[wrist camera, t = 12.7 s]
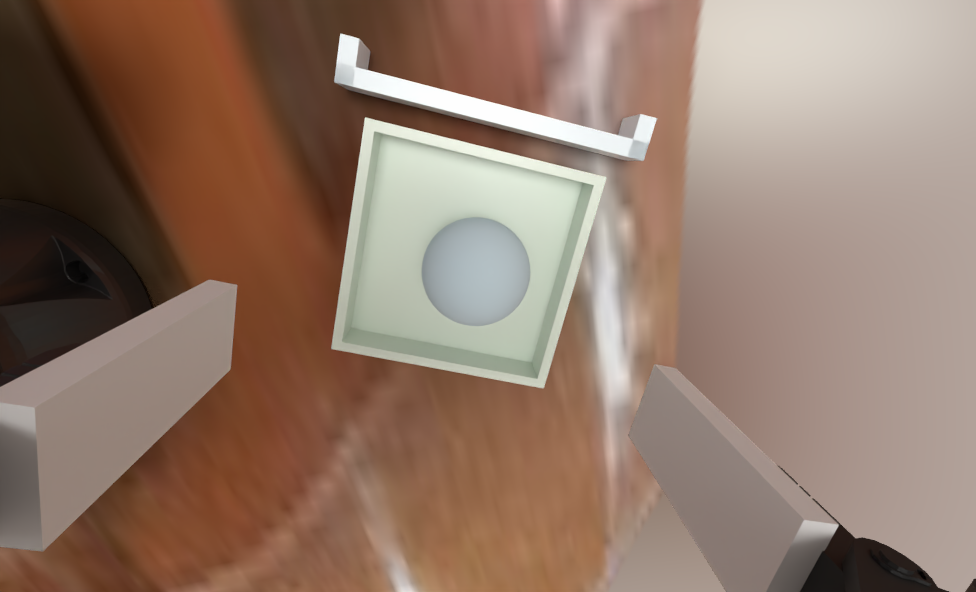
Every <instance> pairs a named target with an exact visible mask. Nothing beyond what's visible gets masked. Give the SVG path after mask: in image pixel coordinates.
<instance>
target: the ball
mask: <svg viewBox="0 0 976 592" xmlns="http://www.w3.org/2000/svg"><path fill="white" fill-rule="evenodd" d="M422 281H423V285H424V289H425V292H426V294H427V296H428V298H429V300H430V301H431V303H432V304H433V306H434V307H435V308H436V309H437V310H438V311H439V312H440V313H441V314H442V315H444V316H445V317H447V318H448V319H450V320H452V321H454V322H457V323H460V324H463V325H468V326H484V325H489V324H492V323H495V322H498V321H500V320H502V319H504V318H505V317H507V316H508V315H510V314H511V313H512V312H513V311H514V310H515V309H516V308H517V307H518V306H519V304H520V303H521V301H522V300H523V298H524V296H525V294H526V292H527V289H528V286H529V281H530V263H529V257H528V254H527V251H526V249H525V247H524V245H523V244H522V242H521V241H520V239H519V238H518V237H517V235H516V234H515V233H514V232H513V231H511V230H510V229H509V228H508V227H506V226H505V225H503V224H501V223H499V222H497V221H494V220H491V219H488V218H481V217H471V218H464V219H461V220H457V221H455V222H453V223H451V224H449V225H447V226H445V227H444V228H443V229H442V230H440V231H439V232H438V233H437V234H436V235H435V236H434V238H433V239H432V240H431V242H430V243H429V245H428V247H427V249H426V251H425V254H424V258H423V262H422Z"/></svg>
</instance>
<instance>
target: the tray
mask: <svg viewBox="0 0 976 592" xmlns="http://www.w3.org/2000/svg"><path fill="white" fill-rule="evenodd" d="M605 181H606V177H603V176H599V175H595V174H591V173H587V172H583V171H579V170H575V169H571V168H567V167H563V166H559V165H555V164H551V163H547V162H543V161H539V160H535V159H531V158H527V157H523V156H519V155H515V154H511V153H506V152H502V151H498V150H494V149H490V148H486V147H482V146H478V145H474V144H470V143H466V142H462V141H458V140H454V139H450V138H446V137H442V136H438V135H434V134H430V133H426V132H422V131H418V130H414V129H410V128H406V127H402V126H398V125H394V124H390V123H386V122H382V121H377V120H373V119H369V118H365V122H364V128H363V135H362V142H361V149H360V156H359V162H358V169H357V176H356V183H355V190H354V197H353V203H352V210H351V217H350V224H349V231H348V237H347V244H346V251H345V258H344V265H343V271H342V278H341V285H340V292H339V299H338V306H337V312H336V319H335V326H334V333H333V340H332V346H331V349H334V350H340V351H345V352H351V353H356V354H361V355H367V356H372V357H377V358H383V359H388V360H393V361H399V362H404V363H410V364H415V365H420V366H426V367H431V368H436V369H442V370H447V371H453V372H458V373H463V374H469V375H474V376H479V377H485V378H490V379H495V380H501V381H506V382H512V383H517V384H522V385H528V386H533V387H538V388H544V386H545V382H546V379H547V376H548V372H549V369H550V365H551V362H552V359H553V355H554V352H555V349H556V345H557V342H558V339H559V335H560V332H561V329H562V325H563V322H564V318H565V315H566V312H567V308H568V305H569V302H570V298H571V295H572V292H573V288H574V285H575V281H576V278H577V275H578V271H579V268H580V265H581V261H582V258H583V255H584V251H585V248H586V245H587V241H588V238H589V234H590V231H591V228H592V224H593V221H594V218H595V214H596V211H597V208H598V204H599V201H600V197H601V194H602V191H603V187H604V184H605ZM471 217H481V218H488V219H491V220H494V221H497V222H499V223H501V224H503V225H505V226H506V227H508V228H509V229H510V230H511V231H513V232H514V233H515V234H516V235H517V237H518V238H519V239H520V241H521V242H522V244H523V245H524V247H525V249H526V251H527V254H528V257H529V263H530V281H529V286H528V289H527V292H526V294H525V296H524V298H523V300H522V301H521V303H520V304H519V306H518V307H517V308H516V309H515V310H514V311H513V312H512V313H511V314H510V315H508V316H507V317H505V318H504V319H502V320H500V321H498V322H495V323H492V324H489V325H484V326H468V325H463V324H460V323H457V322H454V321H452V320H450V319H448V318H447V317H445V316H444V315H442V314H441V313H440V312H439V311H438V310H437V309H436V308H435V307H434V306H433V304H432V303H431V301H430V300H429V298H428V296H427V294H426V292H425V289H424V285H423V281H422V262H423V258H424V254H425V251H426V249H427V247H428V245H429V243H430V242H431V240H432V239H433V238H434V236H435V235H436V234H437V233H438V232H439V231H440V230H442V229H443V228H444V227H445V226H447V225H449V224H451V223H453V222H455V221H457V220H461V219H464V218H471Z"/></svg>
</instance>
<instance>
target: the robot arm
mask: <svg viewBox="0 0 976 592" xmlns="http://www.w3.org/2000/svg"><path fill="white" fill-rule="evenodd" d="M236 295H237V285H235V284H230V283H225V282H220V281H214V280H207V281H206V282H204V283H202V284H200V285H198V286H196V287H194V288H192V289H190V290H188V291H186V292H184V293H182V294H180V295H178V296H176V297H174V298H172V299H171V300H169V301H167V302H165V303H163V304H161V305H159V306H157V307H155V308H153V309H152V308H151V304H150V301H149V299H148V296H147V294H146V291H145V289H144V287H143V285H142V283H141V281H140V280H139V278H138V276H137V275H136V273H135V272H134V270H133V269H132V267H131V266H130V265H129V263H128V262H127V261H126V260H125V258H124V257H123V256H122V255H121V254H120V253H119V252H118V251H117V250H116V249H115V248H114V247H113V246H112V245H111V244H110V243H109V242H108V241H107V240H106V239H104V238H103V237H102V236H101V235H99V234H98V233H97V232H95V231H94V230H93V229H91V228H90V227H88V226H87V225H85V224H83V223H82V222H80V221H78V220H76V219H75V218H73V217H71V216H69V215H67V214H64V213H62V212H60V211H57V210H55V209H52V208H49V207H46V206H43V205H40V204H36V203H32V202H27V201H21V200H12V199H0V547H6V548H16V549H25V550H35V551H44V550H45V549H46V548H47V547H48V546H49V545H50V544H51V543H52V542H53V541H54V540H55V539H56V538H57V537H58V536H59V535H60V534H61V533H62V532H64V531H65V530H66V529H67V528H68V527H69V526H70V525H71V524H72V523H73V522H74V521H75V520H76V519H77V518H78V517H79V516H80V515H81V514H82V513H83V512H84V511H85V510H86V509H87V508H88V507H89V506H90V505H91V504H92V503H93V502H94V501H96V500H97V499H98V498H99V497H100V496H101V495H102V494H103V493H104V492H105V491H106V490H107V489H108V488H109V487H110V486H111V485H112V484H113V483H114V482H115V481H116V480H117V479H118V478H119V477H120V476H121V475H122V474H123V473H124V472H125V471H126V470H127V469H129V468H130V467H131V466H132V465H133V464H134V463H135V462H136V461H137V460H138V459H139V458H140V457H141V456H142V455H143V454H144V453H145V452H146V451H147V450H148V449H149V448H150V447H151V446H152V445H153V444H154V443H155V442H156V441H157V440H158V439H159V438H161V437H162V436H163V435H164V434H165V433H166V432H167V431H168V430H169V429H170V428H171V427H172V426H173V425H174V424H175V423H176V422H177V421H178V420H179V419H180V418H181V417H182V416H183V415H184V414H185V413H186V412H187V411H188V410H189V409H190V408H191V407H192V406H194V405H195V404H196V403H197V402H198V401H199V400H200V399H201V398H202V397H203V396H204V395H205V394H206V393H207V392H208V391H209V390H210V389H211V388H212V387H213V386H214V385H215V384H216V383H217V382H218V381H219V380H220V379H221V378H222V377H223V376H224V375H226V374H227V373H228V372H229V371H230V370H231V359H232V346H233V333H234V321H235V308H236ZM628 436H629V437H630V439H631V440H632V442H633V444H634V445H635V447H636V448H637V450H638V452H639V453H640V455H641V456H642V458H643V460H644V461H645V463H646V464H647V466H648V468H649V469H650V471H651V472H652V474H653V476H654V477H655V479H656V480H657V482H658V484H659V485H660V487H661V488H662V490H663V492H664V493H665V495H666V496H667V498H668V499H669V501H670V503H671V504H672V506H673V508H674V509H675V511H676V512H677V514H678V515H679V517H680V519H681V520H682V522H683V523H684V525H685V527H686V528H687V530H688V531H689V533H690V535H691V536H692V538H693V539H694V541H695V543H696V544H697V546H698V547H699V549H700V551H701V552H702V554H703V555H704V557H705V559H706V560H707V562H708V563H709V565H710V567H711V568H712V570H713V571H714V573H715V575H716V576H717V578H718V579H719V581H720V583H721V584H722V586H723V587H724V589H725V591H726V592H949V591H946V590H943V589H940V588H938V587H937V586H936V584H935V583H934V581H933V580H932V578H931V577H930V576H929V575H928V574H927V573H926V572H925V571H924V570H922V569H921V568H920V567H919V566H918V565H917V564H915V563H914V562H913V561H911V560H910V559H908V558H907V557H906V556H904V555H903V554H901V553H899V552H897V551H896V550H894V549H892V548H890V547H889V546H887V545H884V544H882V543H879V542H877V541H875V540H871V539H866V538H857V539H856V538H854V537H853V536H852V535H851V534H850V533H849V532H848V531H847V530H846V529H845V528H844V527H843V526H842V525H841V524H840V523H839V522H838V521H837V520H836V519H835V518H834V517H832V516H831V515H830V514H829V513H828V512H827V511H826V510H825V509H824V508H823V507H822V506H821V505H820V504H819V503H818V502H817V501H815V499H812V498H811V497H810V495H809V494H808V493H807V492H806V491H805V490H804V489H803V488H802V487H801V486H798V485H797V484H798V483H797V482H796V481H795V480H794V479H793V478H792V477H790V476H789V475H788V474H787V473H786V472H785V471H784V470H783V469H782V468H780V467H779V466H777V465H776V464H775V463H774V462H773V461H772V460H771V459H770V458H769V457H768V456H767V455H766V454H764V452H762V451H761V450H760V449H759V448H758V447H757V446H756V445H755V444H754V443H753V442H752V441H751V440H750V439H749V438H748V437H747V436H746V435H745V434H744V433H742V432H741V431H740V429H738V428H737V427H736V426H735V425H734V424H733V423H732V422H731V421H730V420H729V419H728V418H727V417H726V416H725V415H724V414H723V413H722V412H721V411H720V410H719V409H718V408H717V407H715V406H714V405H713V404H712V403H711V402H710V401H709V400H708V399H707V398H706V397H705V396H704V395H703V394H702V393H701V392H700V391H699V390H698V389H697V388H696V387H695V386H694V385H693V384H692V383H690V382H689V381H688V380H687V379H686V378H685V377H684V376H683V375H682V374H681V373H680V372H679V371H678V370H677V369H676V368H671V367H666V366H661V365H656V364H654V367H653V370H652V372H651V375H650V378H649V381H648V383H647V386H646V389H645V391H644V394H643V397H642V399H641V402H640V405H639V408H638V410H637V413H636V416H635V418H634V421H633V424H632V426H631V429H630V432H629V435H628ZM966 592H976V579H974V580H973V581H972V583H971V584H970V586H969V587H968V589H967V590H966Z"/></svg>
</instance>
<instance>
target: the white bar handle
mask: <svg viewBox="0 0 976 592" xmlns="http://www.w3.org/2000/svg"><path fill="white" fill-rule="evenodd" d="M369 58H370V50H369V49H368V48H367V47H366V46H365V45H364V43H363V42H362V41H361V40H360V39H359V38H355V37H351V36H348V35H344V34H340V40H339V48H338V56H337V64H336V72H335V80H334V82H335V83H337V84H339V85H340V86H342V87H344V88H345V89H347V90H350V91H354V92H358V93H362V94H366V95H370V96H373V97H377V98H381V99H385V100H389V101H393V102H397V103H401V104H405V105H409V106H413V107H417V108H421V109H425V110H429V111H433V112H436V113H440V114H444V115H448V116H452V117H456V118H460V119H464V120H468V121H472V122H476V123H480V124H484V125H488V126H492V127H496V128H499V129H503V130H507V131H511V132H515V133H519V134H523V135H527V136H531V137H535V138H539V139H543V140H547V141H551V142H555V143H558V144H562V145H566V146H570V147H574V148H578V149H582V150H586V151H590V152H594V153H598V154H602V155H606V156H610V157H614V158H618V159H621V160H625V161H644V158H645V154H646V151H647V148H648V145H649V142H650V139H651V135H652V132H653V129H654V126H655V123H656V120H657V118H654V117H650V116H646V115H642V114H639V115H635V116H631V117H627V118H623V120H622V123H621V126H620V130H619V133H618V135H615V134H611V133H607V132H603V131H599V130H596V129H592V128H588V127H584V126H580V125H576V124H572V123H569V122H565V121H561V120H557V119H553V118H549V117H546V116H542V115H538V114H534V113H530V112H526V111H523V110H519V109H515V108H511V107H507V106H503V105H500V104H496V103H492V102H488V101H484V100H480V99H477V98H473V97H469V96H465V95H461V94H457V93H453V92H450V91H446V90H442V89H438V88H434V87H430V86H427V85H423V84H419V83H415V82H411V81H407V80H404V79H400V78H396V77H392V76H388V75H384V74H381V73H377V72H373V71H369V70H368V65H369Z"/></svg>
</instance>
